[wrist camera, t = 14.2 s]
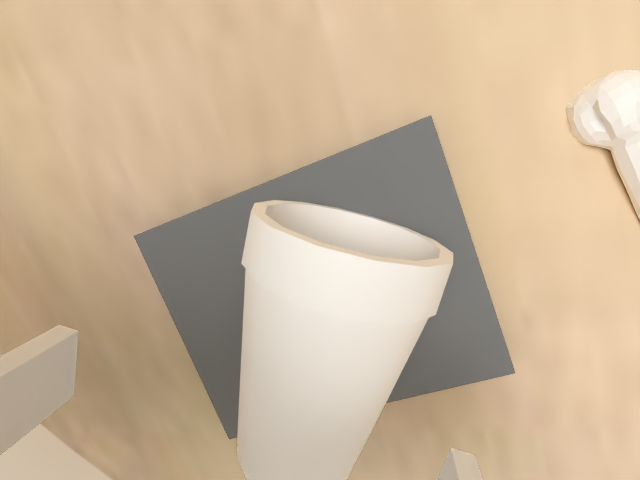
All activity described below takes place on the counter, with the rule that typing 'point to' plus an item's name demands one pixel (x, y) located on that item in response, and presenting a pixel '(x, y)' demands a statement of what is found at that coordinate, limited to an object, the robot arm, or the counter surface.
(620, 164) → the white long knobbed rod
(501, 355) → the mat
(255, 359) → the foam cup
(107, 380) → the counter surface
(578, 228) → the counter surface
